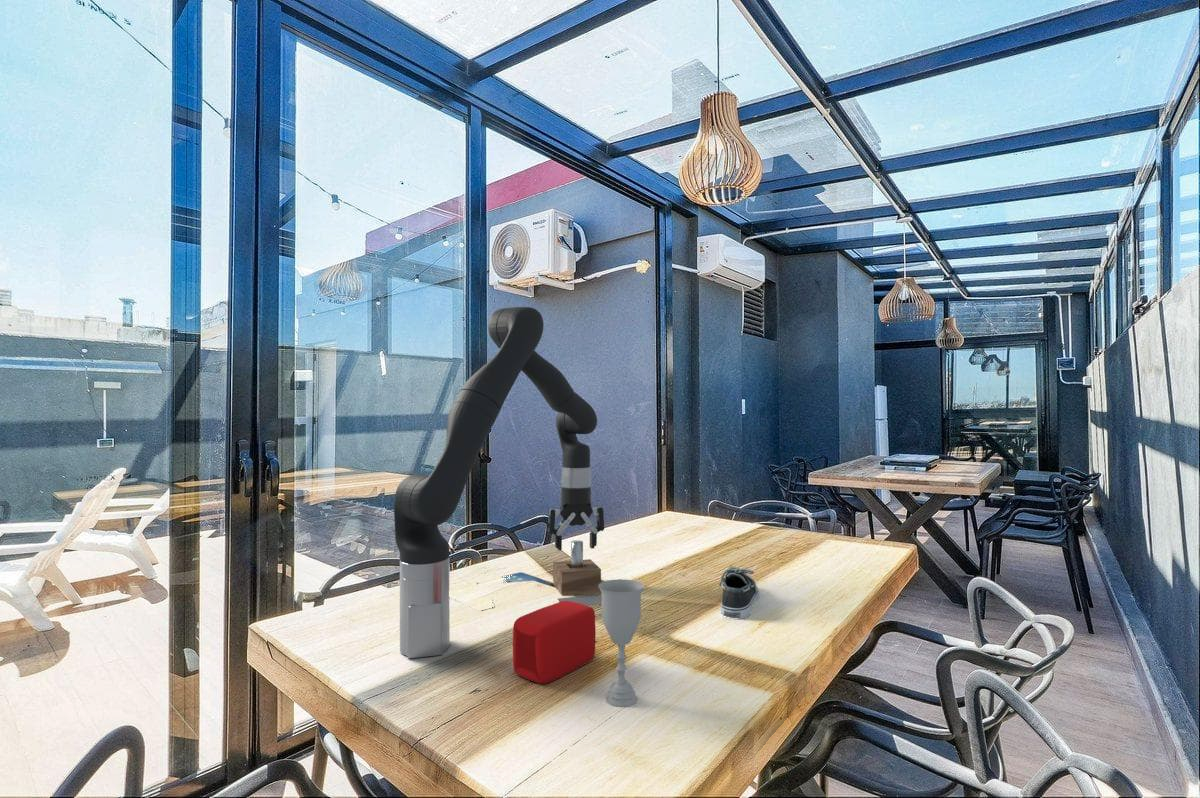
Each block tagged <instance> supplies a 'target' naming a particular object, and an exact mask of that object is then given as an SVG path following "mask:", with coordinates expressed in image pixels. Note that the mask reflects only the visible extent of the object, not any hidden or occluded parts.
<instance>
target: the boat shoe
mask: <svg viewBox="0 0 1200 798" xmlns="http://www.w3.org/2000/svg"><path fill="white" fill-rule="evenodd" d="M754 573H755V571H754V570H752V569H748V568H740V567H739V566H737V567H735V566H732V565H731V566H729V567H728V568H727V569H725V570H724V571H723V572H722V574H721V576H720V580H719V584H718V586H719V587H722V594H721V595H722V596H721V598H722V599H721V603H720V604H721V606H720V615H721V614H722V615H723V616H722V615H721V616H722V617H724V616H726V617H725V618H727V617H730V618H729V619H731V618H744V619H746V617H747V618H749V616H750V615H751V613H752V609H753V606H754V605H755V604H756V603H757V602H758V601H757V600H759V599H760V591H759V587H758V586H757V583H756V581H755V580H754V578H752V577H751V576H750V575H753V574H754ZM756 601H757V602H756ZM755 602H756V603H755ZM754 603H755V604H754ZM753 604H754V605H753ZM752 605H753V606H752ZM751 608H752V609H751ZM750 612H751V613H750Z"/></svg>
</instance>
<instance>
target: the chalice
mask: <svg viewBox="0 0 1200 798" xmlns="http://www.w3.org/2000/svg"><path fill="white" fill-rule="evenodd" d="M598 586H599V588H600V590H601V592H600V593H601V599H602V604H601V618H602V622H603V625H604V626H605V627H604V628H605V630H606V631H607V633H608V635H609V638H610V640H611V642H612V643H613V644H615V645H617V648H618V651H617V654H616V656H615V657H616V659H617V662H618V664H617V666H616V667H615V669H616V671H617V674H618V678H617V680H616V681H614V682H612V684H611V685H610V686H609V690H608V692H607V695H606V697H605V701H606V703H607V704H609V705H610V706H613V707H618V708H627V707H630V706H634V705H635V704H637V702H638V696H637V695H636V691H635V689H634V687H633V685H632V684H631V683H630V682H629V681H627V680H626V678H625V675H626V671H628V667H627V666H626V664H625V662H626V659H627V655H626V653H625V652H626V651H625V647H626V645H629V644H630V643H631V641H632V639H633V637H634V635H635V633H636V632H637V629H638V628H639V627H638V626H639V623H640V620H641V617H642V595H641V594H642V592H643V590H644V587H645V584H643V583H642V582H640V581H636V580H634V579H621V578H618V579H609V580H605V581H601V583H600V584H599V585H598Z"/></svg>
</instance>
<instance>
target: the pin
mask: <svg viewBox="0 0 1200 798" xmlns="http://www.w3.org/2000/svg"><path fill="white" fill-rule="evenodd" d="M570 553H571V555H570V561H571V568H583V560H584V540H572V541H570Z"/></svg>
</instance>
